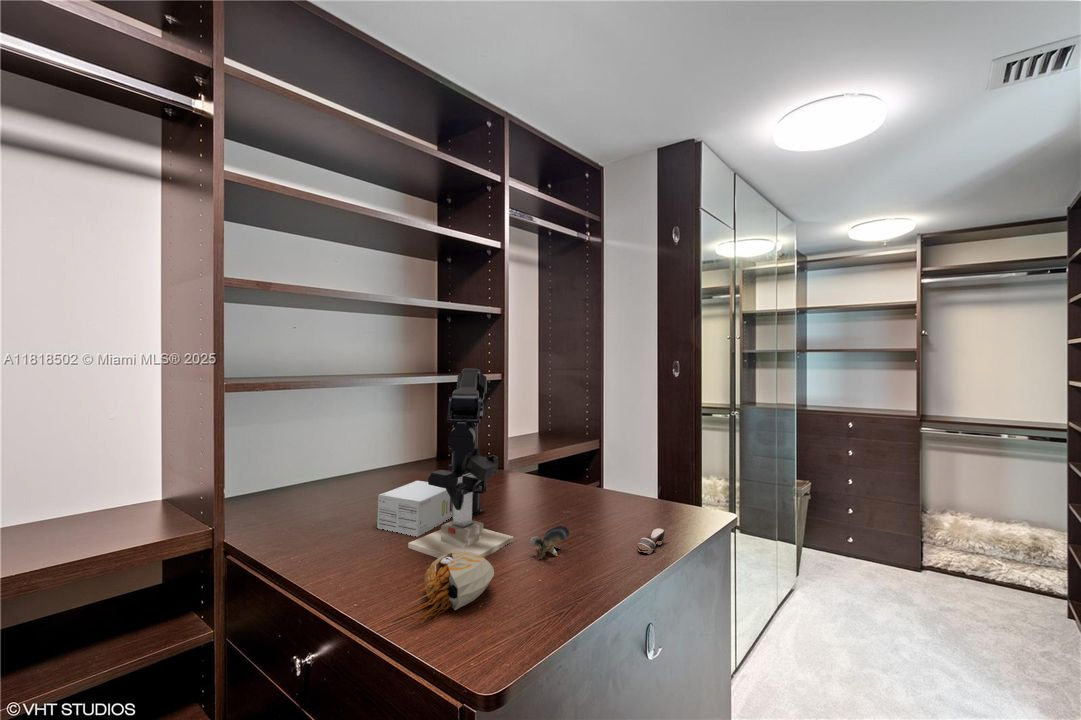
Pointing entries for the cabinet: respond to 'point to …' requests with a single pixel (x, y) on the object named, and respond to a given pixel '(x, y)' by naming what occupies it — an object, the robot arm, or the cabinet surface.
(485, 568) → the nautilus
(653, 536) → the heeled mule
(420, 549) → the birch stand
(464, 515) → the steel post
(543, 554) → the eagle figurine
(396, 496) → the supplement box
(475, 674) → the cabinet surface
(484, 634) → the cabinet surface
